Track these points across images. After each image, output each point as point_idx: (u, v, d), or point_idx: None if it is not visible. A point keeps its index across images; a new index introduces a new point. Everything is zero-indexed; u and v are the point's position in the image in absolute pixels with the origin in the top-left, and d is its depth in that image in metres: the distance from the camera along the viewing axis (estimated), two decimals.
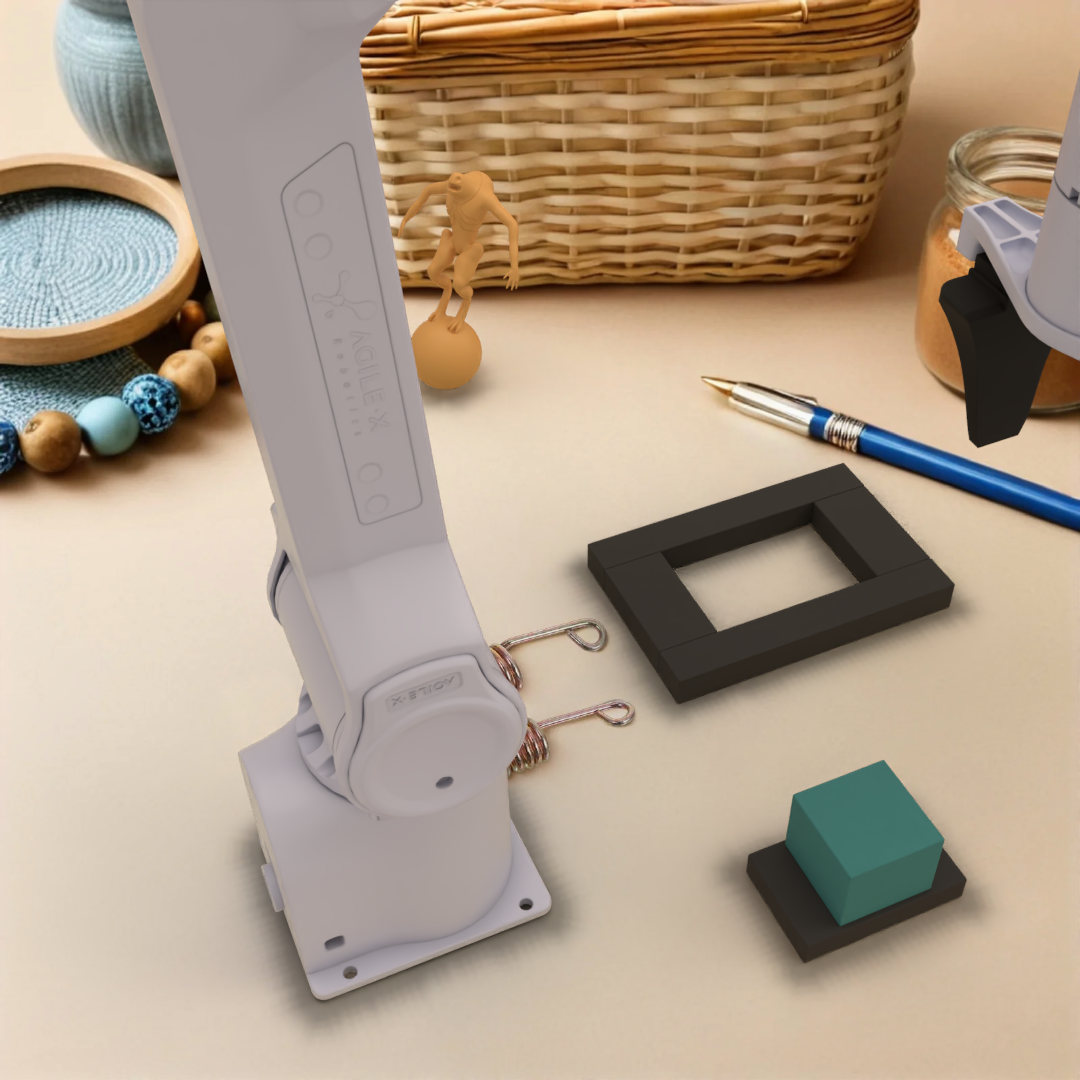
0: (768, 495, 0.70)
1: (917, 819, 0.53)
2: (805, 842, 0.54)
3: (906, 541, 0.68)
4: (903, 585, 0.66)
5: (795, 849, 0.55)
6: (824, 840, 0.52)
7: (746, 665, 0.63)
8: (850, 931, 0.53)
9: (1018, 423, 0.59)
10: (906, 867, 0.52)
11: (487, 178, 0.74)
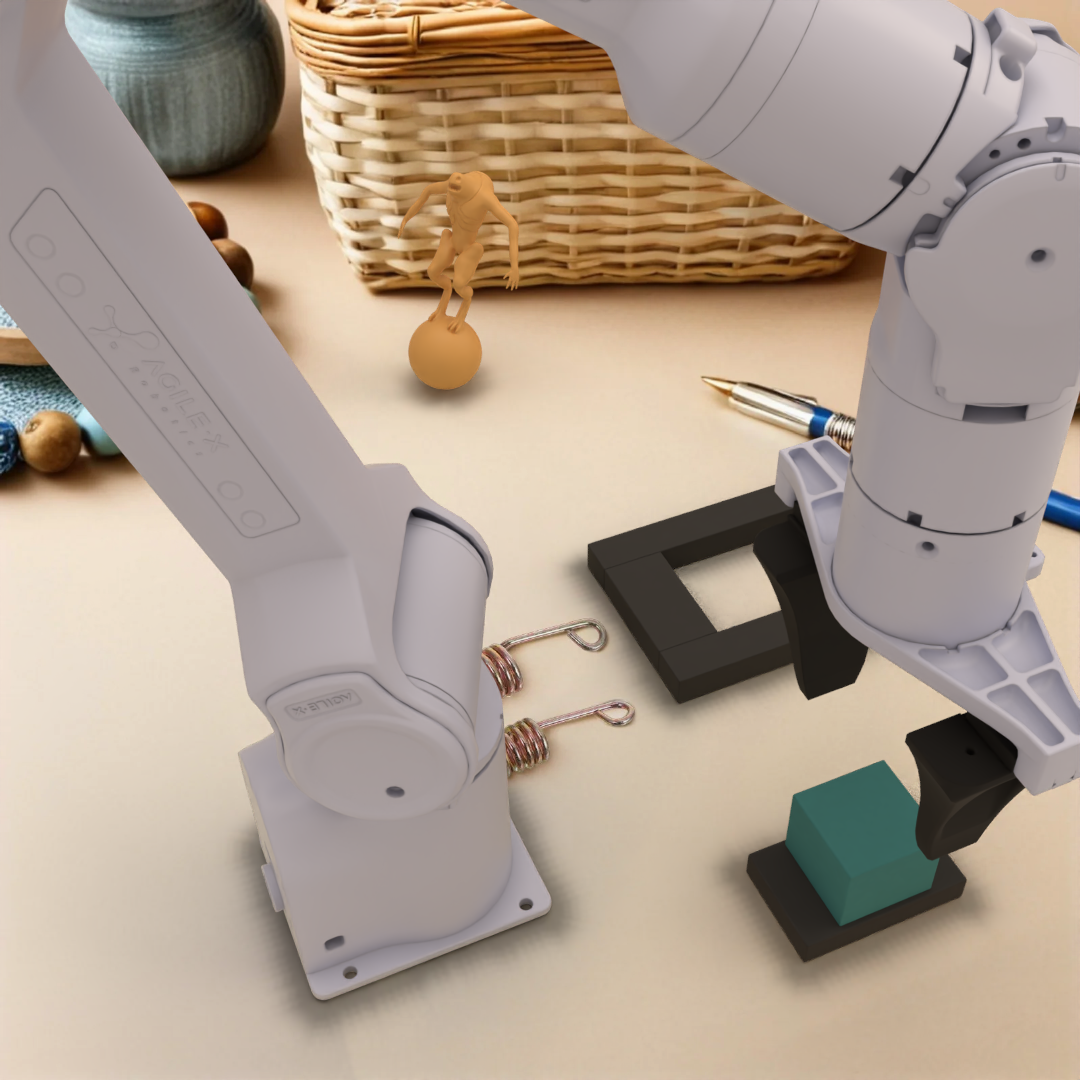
0: (768, 495, 0.70)
1: None
2: (805, 842, 0.54)
3: None
4: None
5: (795, 849, 0.55)
6: (824, 840, 0.52)
7: (746, 665, 0.63)
8: (850, 931, 0.53)
9: (853, 672, 0.53)
10: (906, 867, 0.52)
11: (487, 178, 0.74)
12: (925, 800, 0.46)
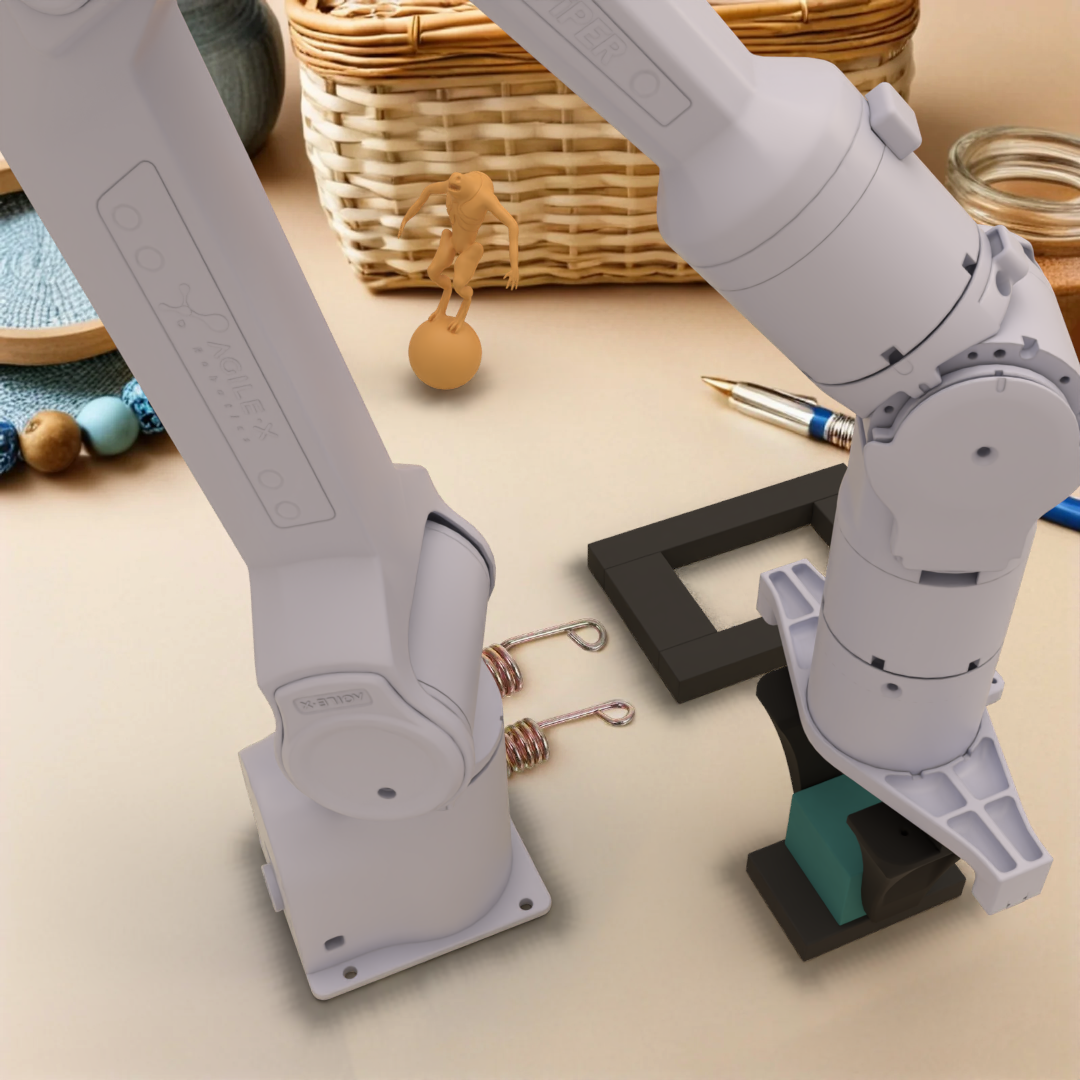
0: (768, 495, 0.70)
1: None
2: (805, 841, 0.54)
3: None
4: None
5: (794, 848, 0.55)
6: (823, 839, 0.52)
7: (746, 665, 0.63)
8: (850, 930, 0.53)
9: None
10: None
11: (487, 178, 0.74)
12: (867, 871, 0.50)
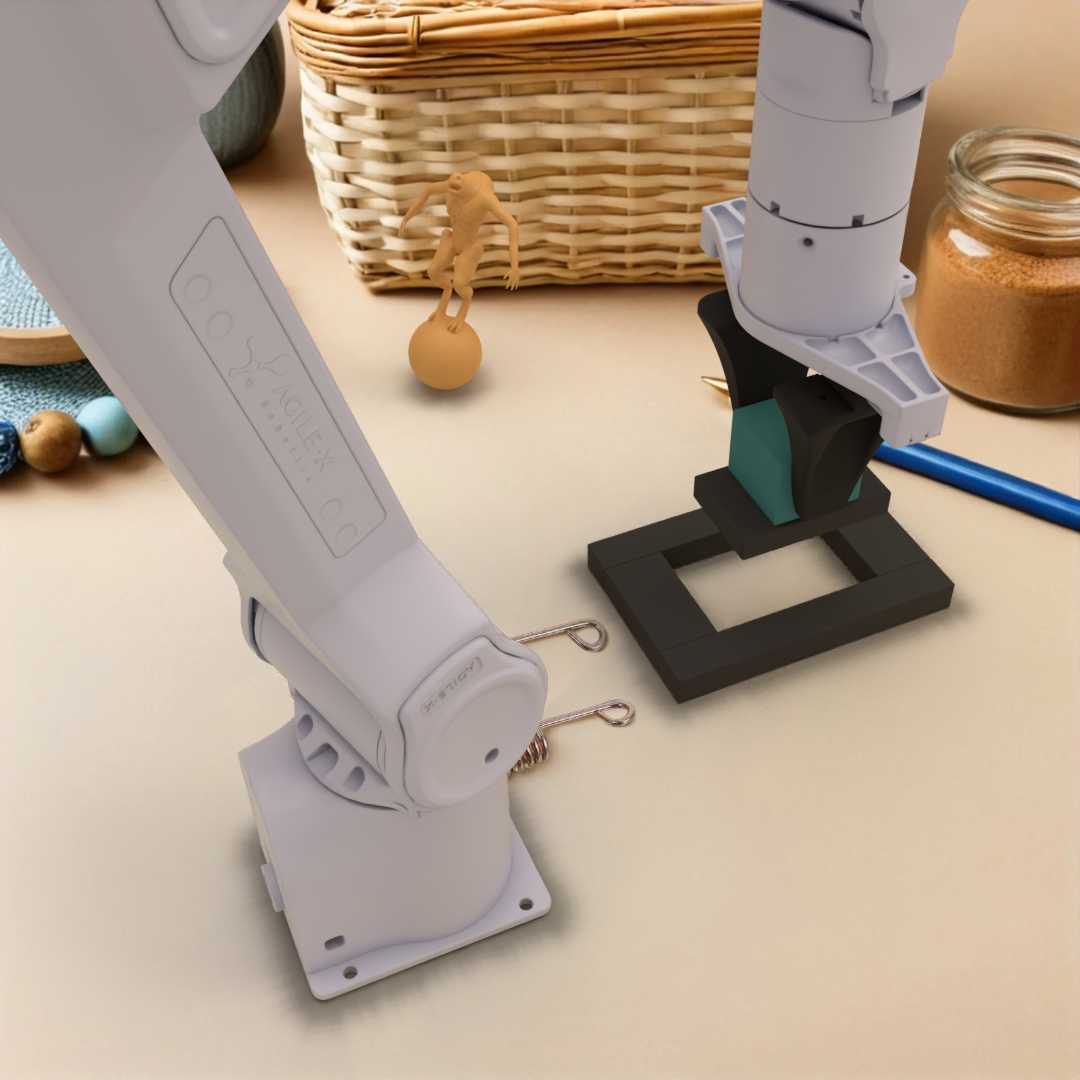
0: None
1: None
2: (744, 454, 0.60)
3: (906, 541, 0.68)
4: (903, 585, 0.66)
5: (736, 467, 0.61)
6: (759, 441, 0.58)
7: (746, 665, 0.63)
8: (784, 530, 0.59)
9: None
10: None
11: (487, 178, 0.74)
12: (794, 457, 0.56)
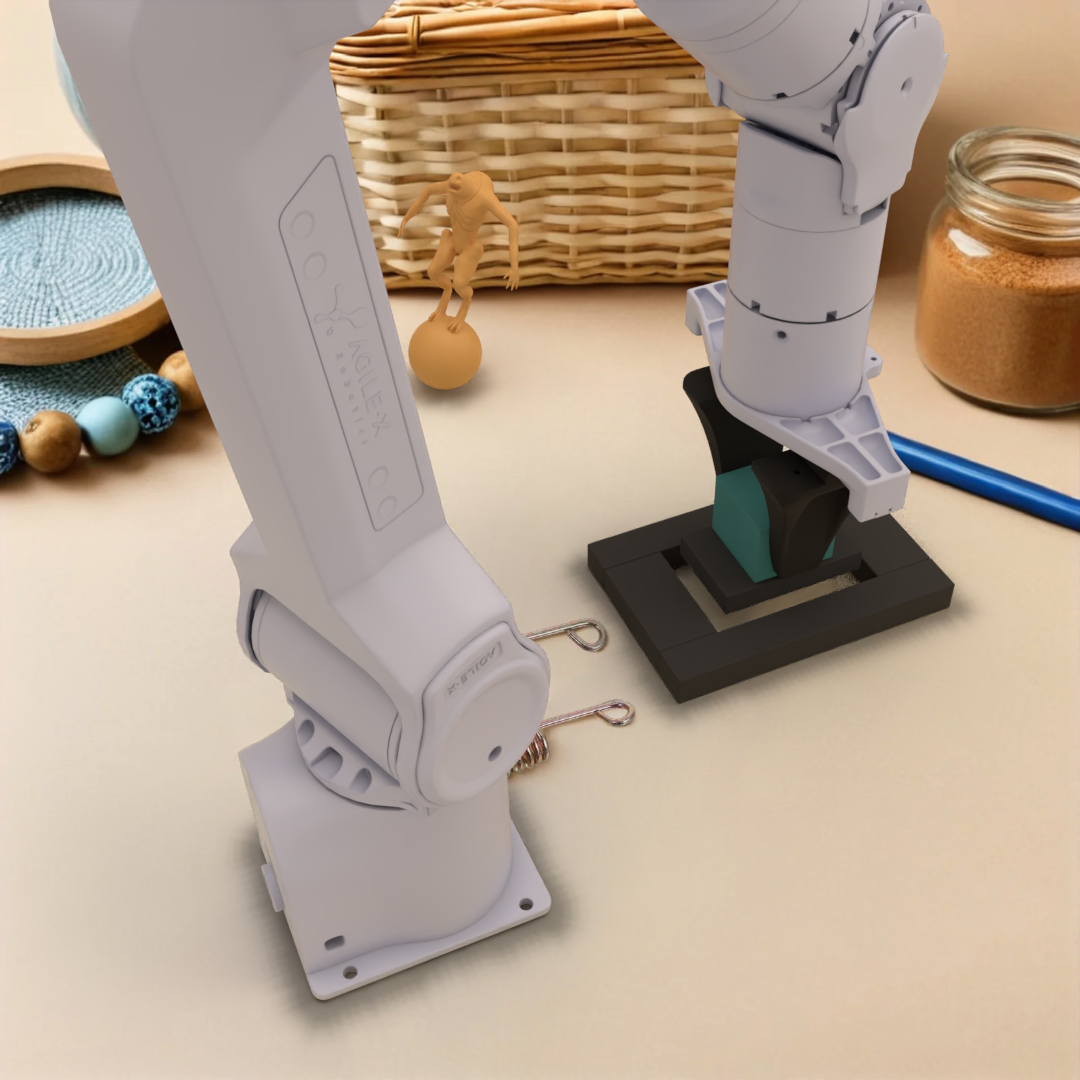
0: None
1: None
2: (726, 516, 0.65)
3: (906, 541, 0.68)
4: (903, 585, 0.66)
5: (719, 527, 0.66)
6: (740, 506, 0.63)
7: (746, 665, 0.63)
8: (764, 587, 0.64)
9: None
10: None
11: (487, 178, 0.74)
12: (772, 523, 0.61)
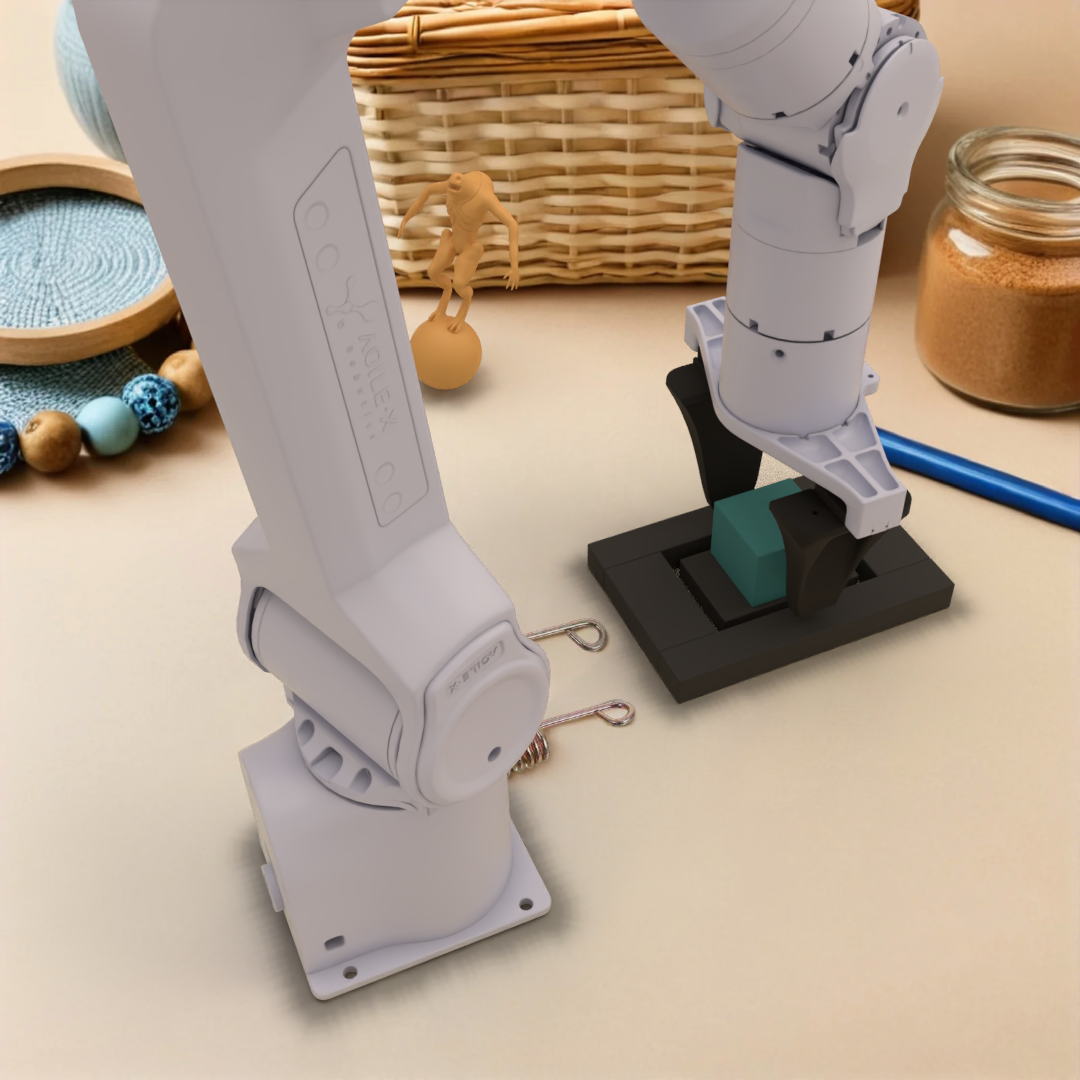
0: None
1: None
2: (724, 541, 0.66)
3: (906, 541, 0.68)
4: (903, 585, 0.66)
5: (717, 552, 0.67)
6: (737, 532, 0.64)
7: (746, 665, 0.63)
8: (761, 611, 0.65)
9: (748, 488, 0.68)
10: None
11: (487, 178, 0.74)
12: (789, 561, 0.61)
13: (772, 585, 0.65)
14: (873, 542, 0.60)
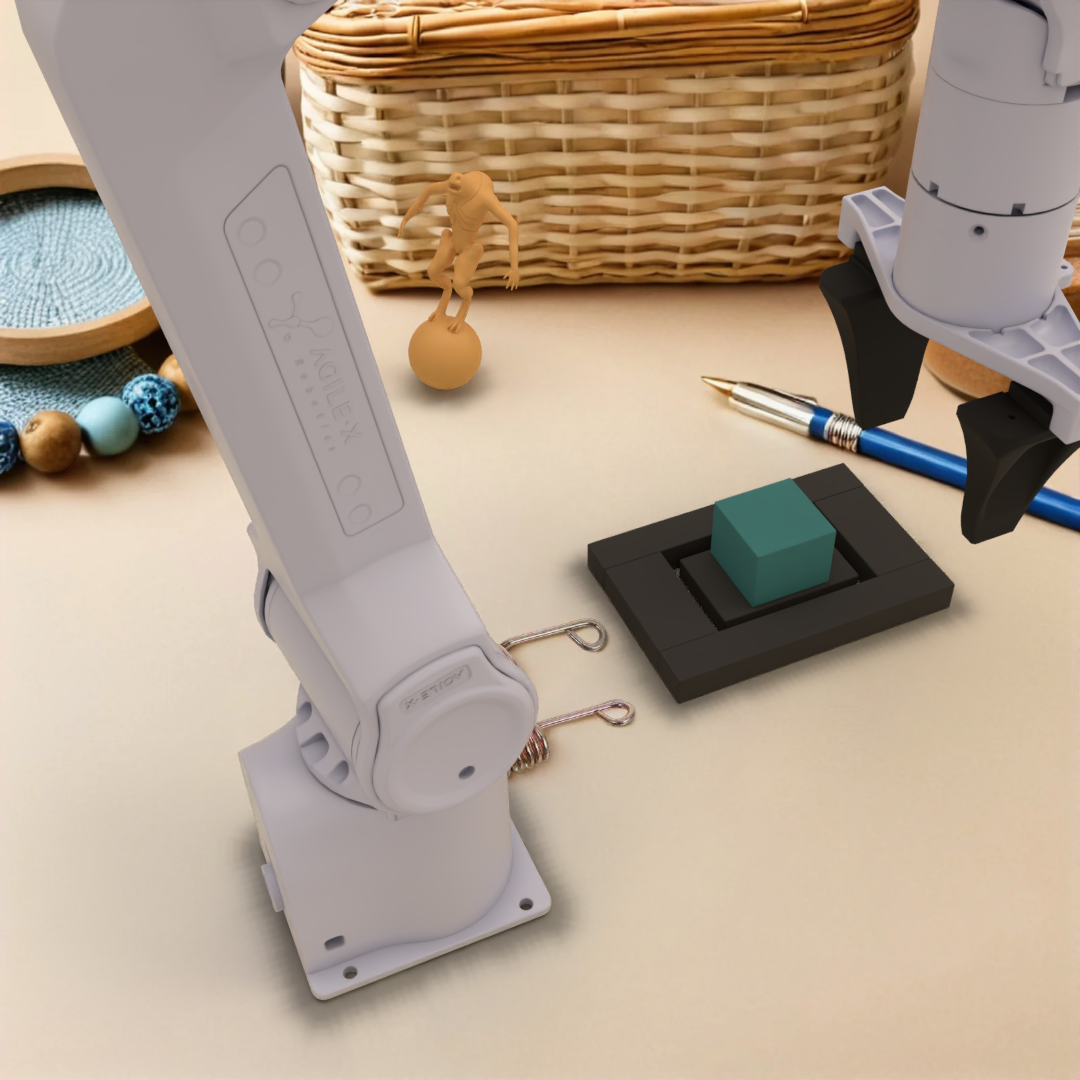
0: None
1: (815, 517, 0.65)
2: (724, 541, 0.66)
3: (906, 541, 0.68)
4: (903, 585, 0.66)
5: (717, 552, 0.67)
6: (737, 532, 0.64)
7: (746, 665, 0.63)
8: (761, 611, 0.65)
9: (903, 406, 0.61)
10: (805, 555, 0.64)
11: (487, 178, 0.74)
12: (971, 478, 0.54)
13: (772, 585, 0.65)
14: (1068, 455, 0.53)
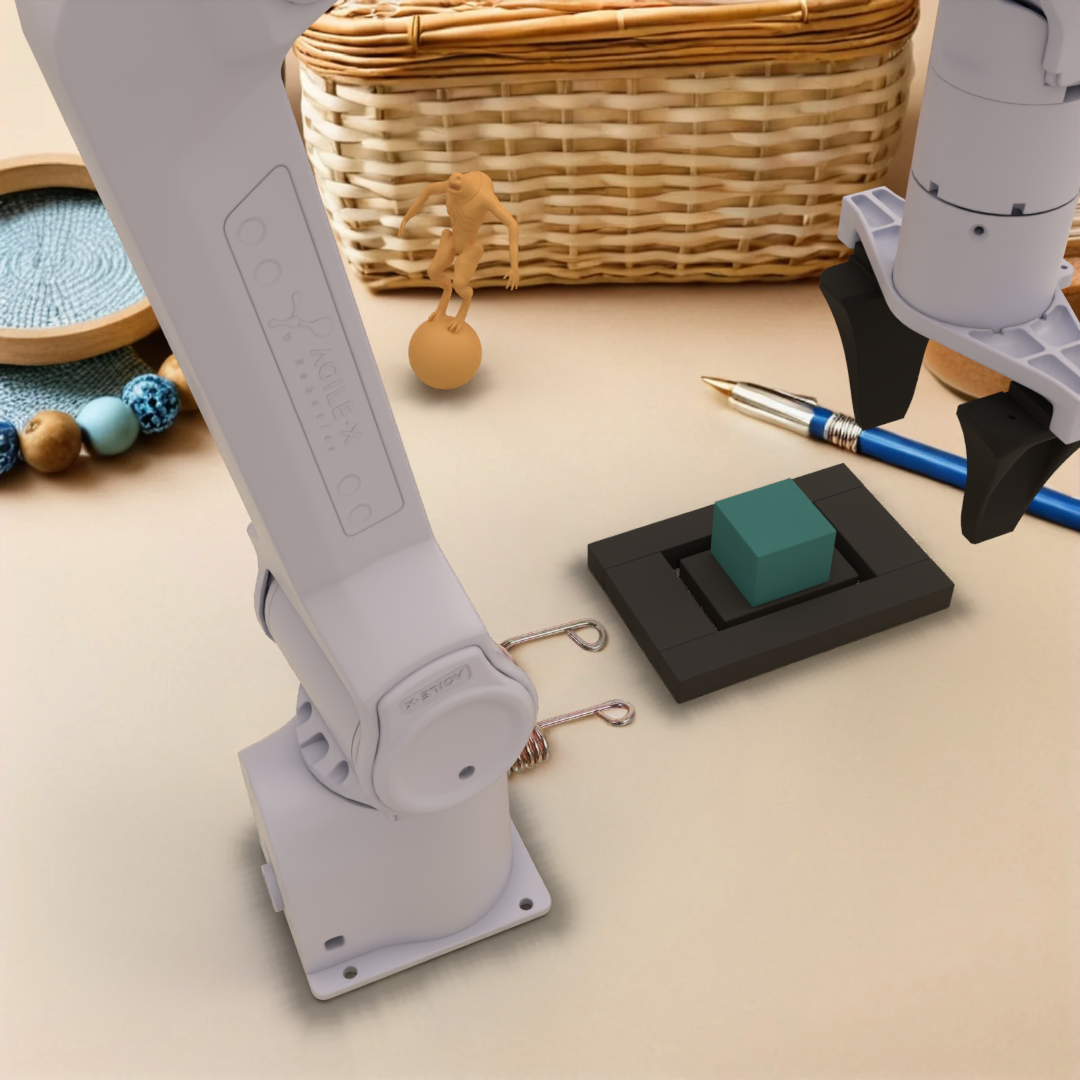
0: None
1: (815, 517, 0.65)
2: (724, 541, 0.66)
3: (906, 541, 0.68)
4: (903, 585, 0.66)
5: (717, 552, 0.67)
6: (737, 532, 0.64)
7: (746, 665, 0.63)
8: (761, 611, 0.65)
9: (903, 406, 0.61)
10: (805, 555, 0.64)
11: (487, 178, 0.74)
12: (971, 478, 0.54)
13: (772, 585, 0.65)
14: (1068, 455, 0.53)
